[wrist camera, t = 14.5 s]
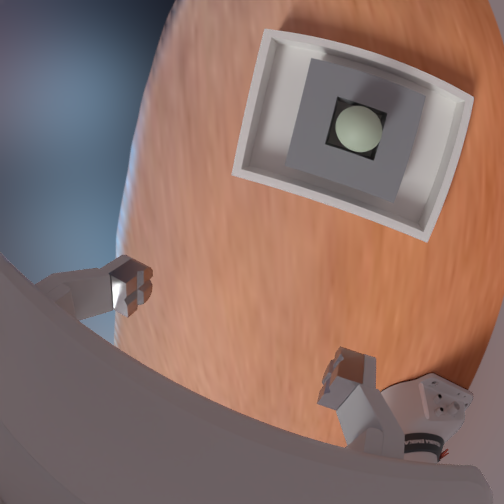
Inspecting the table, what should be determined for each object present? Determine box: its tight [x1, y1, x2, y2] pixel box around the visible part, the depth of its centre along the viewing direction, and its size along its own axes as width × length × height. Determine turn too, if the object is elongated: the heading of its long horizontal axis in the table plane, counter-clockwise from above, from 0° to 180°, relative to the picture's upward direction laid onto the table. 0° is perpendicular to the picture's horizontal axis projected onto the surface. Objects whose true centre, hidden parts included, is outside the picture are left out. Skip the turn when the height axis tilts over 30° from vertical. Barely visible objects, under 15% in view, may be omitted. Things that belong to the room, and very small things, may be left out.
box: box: [232, 29, 474, 242], centre depth 27 cm, size 24×18×6 cm
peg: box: [336, 106, 382, 152], centre depth 25 cm, size 4×4×9 cm
